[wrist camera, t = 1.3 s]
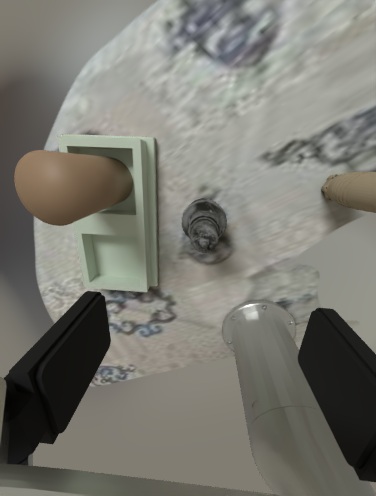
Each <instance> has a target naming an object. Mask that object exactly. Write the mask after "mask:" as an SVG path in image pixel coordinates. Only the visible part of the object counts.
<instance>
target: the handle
mask: <svg viewBox="0 0 376 496" xmlns="http://www.w3.org/2000/svg"><path fill="white" fill-rule="evenodd" d="M322 190H323V191H324V193H325V195H324V196H325V197H326V198H327V199H329V200H333V201H335V202H337V203H339V204H341V205H344V206H346V207H350V208H354V209H357V210H363V211H368V212H374V213H376V172H351V173H344V174H341V175H332V176H330V177H328V179H327V182H326V183H325V184H324V185H323V186H322Z"/></svg>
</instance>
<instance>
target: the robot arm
mask: <svg viewBox="0 0 376 496" xmlns="http://www.w3.org/2000/svg"><path fill="white" fill-rule="evenodd" d="M222 333H223V338H224V341H225V343H226V345H227V346H228V347H229V348H230V349H231V350H232V351H233V352H234V353H235V359H236V364H237V370H238V376H239V382H240V388H241V394H242V399H243V405H244V411H245V417H246V422H247V429H248V434H249V440H250V445H251V450H252V455H253V458H254V461H255V464H256V466H257V468H258V470H259V472H260V474H261V476H262V478H263V479H264V481H265V482H266V483H267V485H268V486H269V488H270V489H271V490H272V492H273V493H274V494H267V493H259V492H251V491H242V490H235V489H227V488H219V487H211V486H202V485H195V484H186V483H179V482H171V481H163V480H155V479H146V478H138V477H129V476H121V475H112V474H104V473H95V472H87V471H78V470H69V469H59V468H47V467H38V466H33V452H34V451H35V449H36V447H37V446H38V444H39V443H47V444H53V443H54V442H55V440H56V438H57V436H58V434H59V433H62V432H64V430H65V429H66V427H67V426H68V424H69V422H70V420H71V418H72V416H73V414H74V412H75V411H76V409H77V407H78V405H79V403H80V401H81V399H82V397H83V396H84V394H85V392H86V390H87V388H88V386H89V384H90V382H91V381H92V379H93V377H94V375H95V373H96V371H97V369H98V367H99V366H100V364H101V362H102V360H103V358H104V356H105V354H106V352H107V351H108V349H109V346H110V342H111V339H110V331H109V324H108V317H107V310H106V302H105V297H104V296H103V295H101V293H100V292H92V291H87V292H85V293H84V294H83V295H82V296H81V297H80V298H79V299H78V300H77V301H76V302H75V303H74V305H73V306H72V307H71V308H70V309H69V310H68V311H67V312H66V313H65V314H64V315H63V316H62V317H61V318H60V319H59V320H58V321H57V322H56V323H55V324H54V325H53V326H52V327H51V328H50V329H49V330H48V331H47V332H46V333H45V334H44V336H43V337H42V338H41V339H40V340H39V341H38V342H37V343H36V344H35V345H34V346H33V347H32V348H31V349H30V350H29V351H28V352H27V353H26V354H25V355H24V356H23V357H22V358H21V359H20V360H19V361H18V362H17V363H16V364H15V366H13V367H12V369H11V370H10V371H9V374H8V375H7V376H6V377H5V378H4V379H3V378H2V377H0V496H376V493H375V491H374V489H373V487H372V486H371V484H370V482H369V481H371V482H376V354H375V353H374V352H373V351H372V350H371V349H370V348H369V347H368V346H367V345H366V344H365V342H364V341H363V340H361V338H360V337H359V336H358V335H357V334H356V333H355V332H354V331H353V329H352V328H351V327H350V326H349V325H348V324H347V323H346V322H345V321H344V320H343V319H342V318H341V317H340V316H339V314H338V313H337V312H336V311H334V310H333V309H326V308H317V309H316V310H315V311H313V312H312V313H311V315H310V319H309V322H308V325H307V328H306V331H305V335H304V338H303V341H302V345H301V347H300V350H299V349H298V347H297V346H296V344H295V342H294V340H293V339H294V337H295V333H296V325H295V322H294V319H293V318H292V316H291V314H290V313H289V312H288V311H287V310H286V309H285V308H284V307H282V306H281V305H279V304H277V303H274V302H271V301H264V300H256V301H250V302H246V303H243V304H241V305H239V306H237V307H235V308H234V309H233V310H232V311H230V312H229V314H228V315H227V316H226V318H225V320H224V322H223V326H222Z"/></svg>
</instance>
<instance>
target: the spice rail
mask: <svg viewBox="0 0 376 496" xmlns="http://www.w3.org/2000/svg"><path fill="white" fill-rule="evenodd" d="M57 140H58V145H59V151H60V152H56V151H46V150H36V151H32V152H29V153H27V154H26V155H24V156H23V157H22V158H21V159H20V161H19V162H18V164H17V166H16V170H15V177H14V180H15V187H16V190H17V193H18V196H19V198H20V199H21V201H22V203H23V204H24V206H25V207H26V208H27V210H28V211H29V212H31V214H33V215H34V216H35V217H36V218H38V219H40V220H41V221H43V222H45V223H48V224H52V225H58V226H62V225H68V224H71V223H73V228H74V233H75V239H76V244H77V250H78V255H79V261H80V266H81V272H82V277H83V283H84V288H95V289H109V290H123V291H137V292H148V289H149V287H150V286H156V287H157V285H158V245H157V196H156V147H155V138H154V137H129V136H100V135H70V134H62V136H57Z"/></svg>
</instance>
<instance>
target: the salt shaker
mask: <svg viewBox="0 0 376 496" xmlns="http://www.w3.org/2000/svg"><path fill="white" fill-rule="evenodd" d="M226 222H227V220H226V215H225V213H224V211H223V209H222V208H221V207H220V206H219V205H218V204H217V203H216V202H214V201H213V200H210V199H207V198H202V199H198V200H196V201H194V202H193V203H192V204H190V205H189V206H188V207H187V208H186V210H185V212H184V213H183V217H182V227H183V231H184V232H185V234H186V235H187V236H188V237H189V238H190V239H191V244H192V245H193V247H194V248H195V249H196V250H197V251H199V252H202V253H207V252H210V251H212V250H213V249H215V247H216V246H217V243H218V238H219V237H221V235H222V234H223V232H224V231H225V228H226Z"/></svg>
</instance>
